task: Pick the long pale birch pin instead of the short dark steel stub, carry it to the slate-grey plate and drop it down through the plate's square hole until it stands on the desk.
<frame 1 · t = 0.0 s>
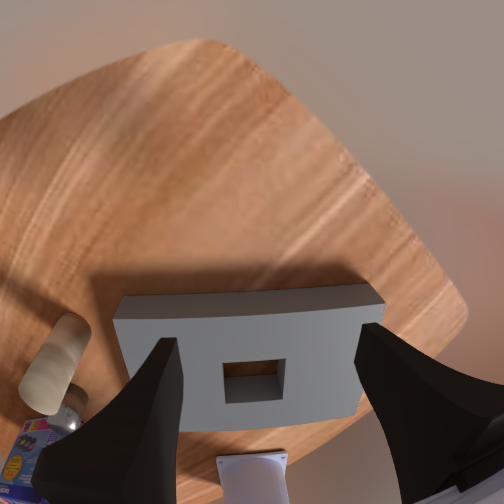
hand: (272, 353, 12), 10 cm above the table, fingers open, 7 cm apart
birch pin: (74, 328, 22), on the table
hole plate: (250, 356, 25), on the table
ink cartridge box: (60, 427, 28), on the table
short steel pin: (74, 393, 25), on the table
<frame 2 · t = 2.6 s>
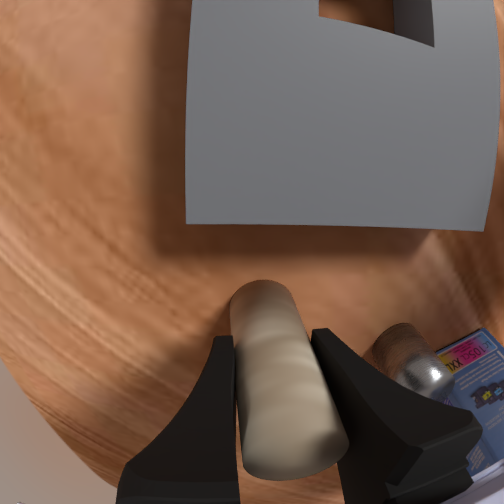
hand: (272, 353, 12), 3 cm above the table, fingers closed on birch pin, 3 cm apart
birch pin: (261, 308, 15), on the table, touching gripper
hole plate: (348, 2, 10), on the table
ink cartridge box: (448, 380, 20), on the table
short steel pin: (395, 344, 17), on the table
when the fingers open (5 cm above the table, at t = 6.6 s): birch pin drops 2 cm, resting in hole plate.
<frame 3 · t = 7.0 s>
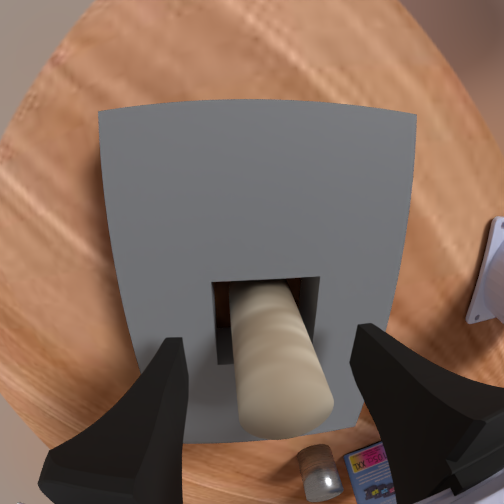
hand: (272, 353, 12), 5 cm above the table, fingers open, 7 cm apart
birch pin: (258, 289, 16), resting in hole plate
hole plate: (257, 290, 16), on the table
ink cartridge box: (371, 461, 26), on the table
short steel pin: (313, 453, 23), on the table
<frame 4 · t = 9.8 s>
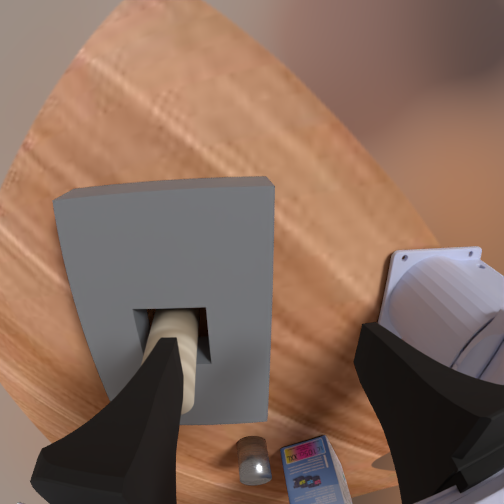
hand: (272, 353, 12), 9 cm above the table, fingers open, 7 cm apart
birch pin: (177, 311, 22), resting in hole plate
hole plate: (177, 311, 22), on the table
ink cartridge box: (311, 456, 31), on the table
short steel pin: (251, 443, 29), on the table
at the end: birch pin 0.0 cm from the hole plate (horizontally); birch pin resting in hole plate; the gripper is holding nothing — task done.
